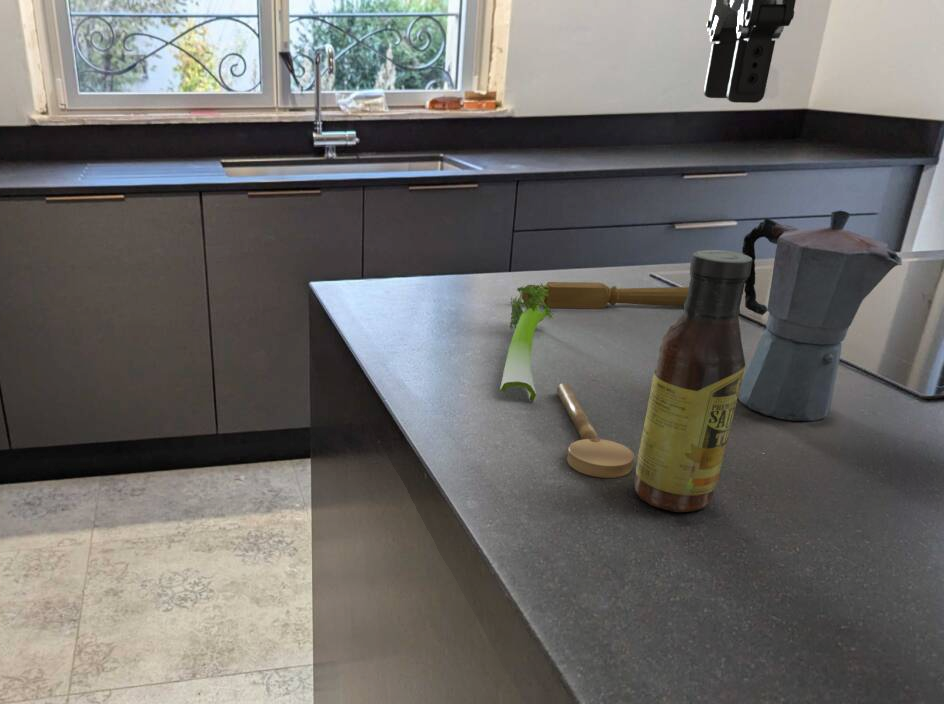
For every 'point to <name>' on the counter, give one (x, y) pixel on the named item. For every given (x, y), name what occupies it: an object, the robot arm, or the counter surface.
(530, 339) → the celery stalk
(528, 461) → the counter surface
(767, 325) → the moka pot
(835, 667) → the counter surface
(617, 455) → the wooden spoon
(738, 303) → the sauce bottle
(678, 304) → the tap handle
